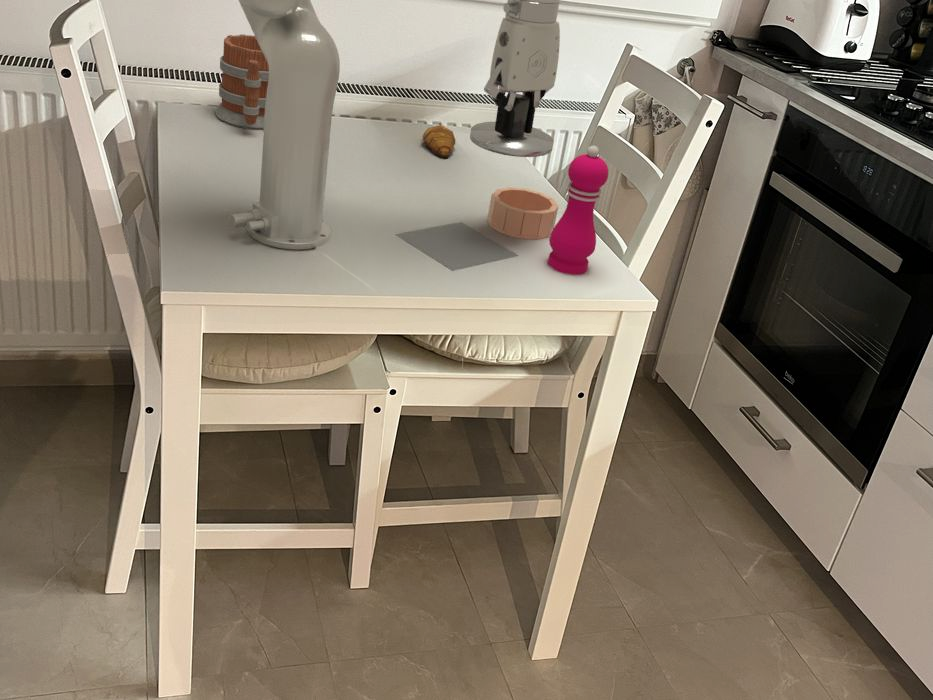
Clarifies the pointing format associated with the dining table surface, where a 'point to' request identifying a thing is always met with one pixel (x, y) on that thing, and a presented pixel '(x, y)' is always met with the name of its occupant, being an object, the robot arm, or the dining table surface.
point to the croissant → (439, 140)
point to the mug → (243, 82)
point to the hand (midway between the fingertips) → (513, 130)
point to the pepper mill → (578, 215)
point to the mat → (456, 245)
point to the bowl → (522, 213)
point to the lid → (513, 135)
